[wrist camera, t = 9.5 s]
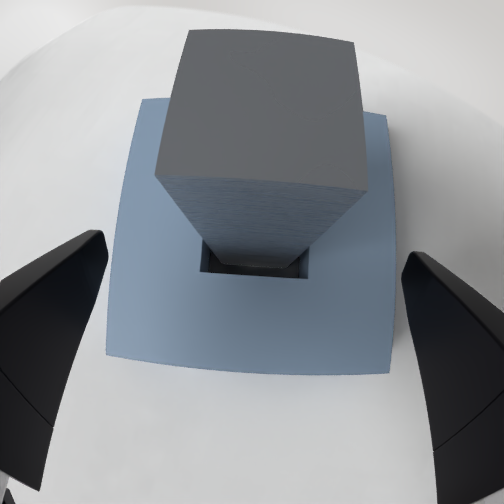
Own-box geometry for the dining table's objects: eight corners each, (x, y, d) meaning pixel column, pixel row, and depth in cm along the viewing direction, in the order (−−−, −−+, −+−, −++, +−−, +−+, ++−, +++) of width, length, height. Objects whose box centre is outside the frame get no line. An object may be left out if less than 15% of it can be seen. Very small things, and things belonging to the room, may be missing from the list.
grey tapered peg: (285, 268, 18) (368, 190, 5) (222, 263, 18) (154, 174, 5) (288, 207, 18) (353, 42, 5) (227, 203, 18) (189, 30, 6)
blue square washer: (368, 363, 17) (389, 373, 14) (127, 347, 17) (106, 355, 14) (369, 138, 19) (386, 115, 16) (155, 124, 19) (142, 99, 16)
